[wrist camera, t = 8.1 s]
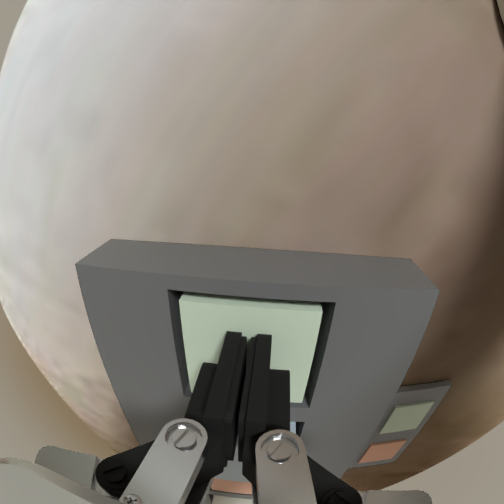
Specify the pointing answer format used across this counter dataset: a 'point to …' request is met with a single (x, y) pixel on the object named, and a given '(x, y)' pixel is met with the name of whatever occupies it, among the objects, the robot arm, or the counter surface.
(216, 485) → the terracotta key
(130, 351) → the keyguard frame
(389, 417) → the card
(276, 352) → the sage key
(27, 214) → the counter surface
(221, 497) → the cream key
